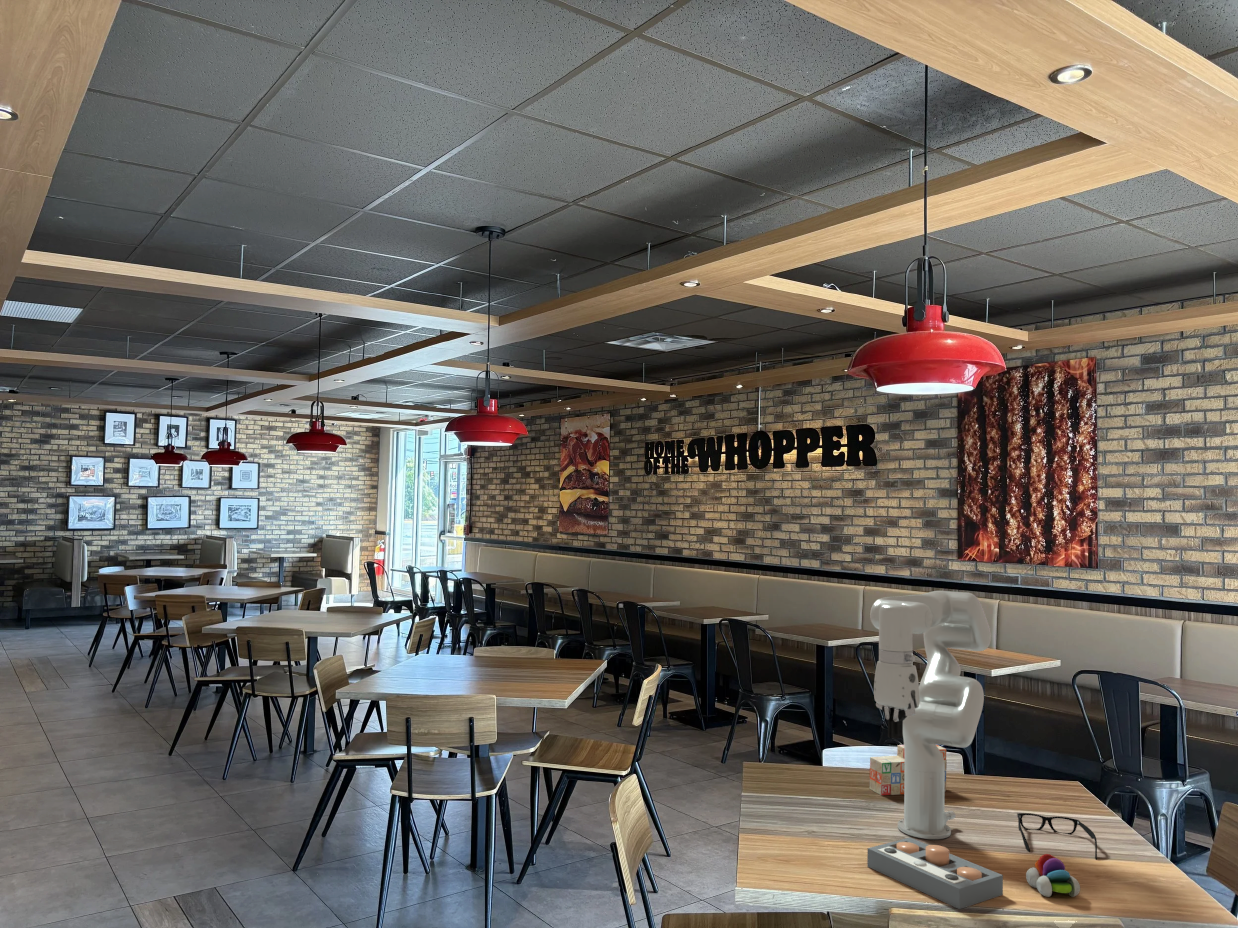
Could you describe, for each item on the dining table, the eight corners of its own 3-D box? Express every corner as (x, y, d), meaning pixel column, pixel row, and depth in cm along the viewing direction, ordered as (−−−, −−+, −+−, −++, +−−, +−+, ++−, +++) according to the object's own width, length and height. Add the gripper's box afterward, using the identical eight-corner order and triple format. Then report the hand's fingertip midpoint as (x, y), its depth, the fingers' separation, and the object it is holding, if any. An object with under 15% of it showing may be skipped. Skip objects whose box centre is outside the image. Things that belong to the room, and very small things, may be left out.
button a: (906, 854, 199) (906, 840, 199) (923, 861, 195) (923, 847, 195) (891, 857, 197) (891, 843, 197) (909, 865, 192) (909, 851, 193)
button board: (909, 854, 202) (909, 835, 202) (1002, 894, 182) (1002, 872, 182) (867, 866, 195) (867, 846, 195) (959, 909, 174) (959, 886, 174)
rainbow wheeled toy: (1059, 882, 189) (1059, 847, 189) (1085, 901, 179) (1085, 865, 180) (1021, 881, 189) (1021, 847, 189) (1045, 901, 179) (1045, 865, 179)
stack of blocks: (881, 796, 245) (881, 751, 246) (869, 789, 251) (869, 745, 252) (946, 791, 251) (946, 748, 251) (933, 784, 257) (933, 742, 257)
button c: (966, 879, 185) (966, 865, 186) (986, 888, 181) (986, 873, 182) (952, 884, 183) (952, 869, 183) (971, 893, 179) (971, 877, 179)
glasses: (1082, 838, 218) (1082, 818, 219) (1101, 861, 202) (1101, 839, 202) (1011, 830, 223) (1011, 810, 223) (1024, 852, 206) (1024, 830, 206)
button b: (935, 857, 192) (935, 843, 193) (954, 865, 188) (954, 850, 188) (920, 861, 190) (920, 847, 190) (939, 869, 186) (939, 854, 186)
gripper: (932, 661, 199) (932, 743, 198) (881, 651, 212) (881, 728, 211) (910, 663, 195) (910, 746, 194) (859, 653, 208) (859, 731, 207)
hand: (895, 737), depth 202 cm, fingers closed
